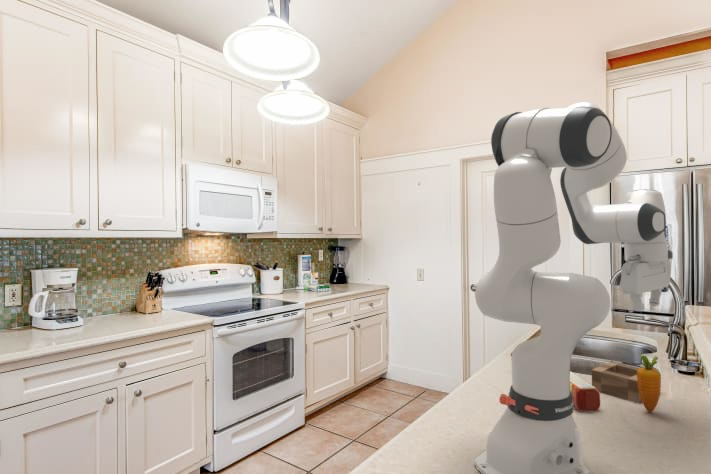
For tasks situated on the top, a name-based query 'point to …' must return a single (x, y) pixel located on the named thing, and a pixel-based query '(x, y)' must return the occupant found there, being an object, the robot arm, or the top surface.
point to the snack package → (584, 394)
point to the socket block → (617, 381)
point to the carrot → (649, 383)
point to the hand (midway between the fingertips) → (646, 308)
